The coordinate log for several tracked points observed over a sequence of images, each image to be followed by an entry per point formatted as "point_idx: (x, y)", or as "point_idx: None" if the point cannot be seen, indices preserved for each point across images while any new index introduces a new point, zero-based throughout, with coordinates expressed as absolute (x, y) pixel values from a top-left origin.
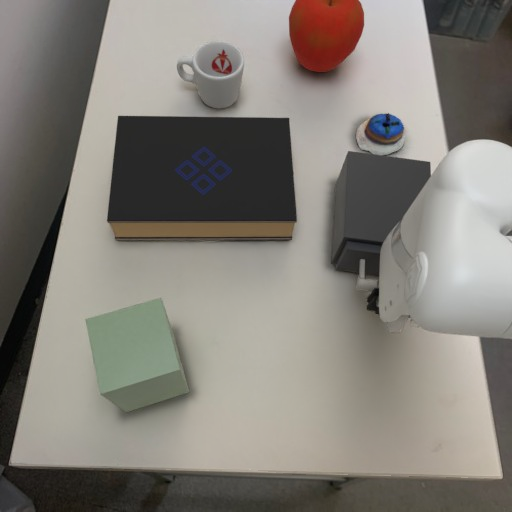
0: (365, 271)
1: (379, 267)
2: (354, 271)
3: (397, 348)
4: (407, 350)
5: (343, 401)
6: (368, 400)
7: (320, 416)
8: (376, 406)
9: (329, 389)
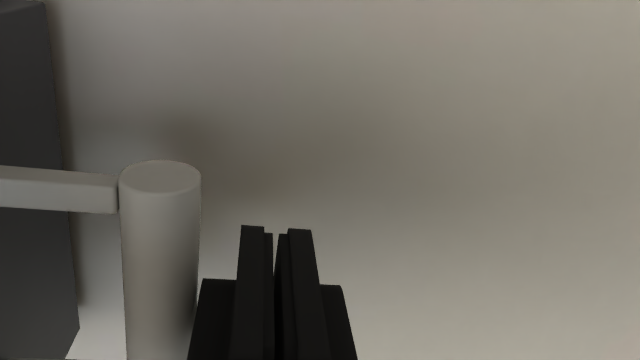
0: (60, 239)
1: (21, 233)
2: (71, 269)
3: (414, 92)
4: (428, 47)
5: (562, 286)
6: (581, 216)
7: (584, 341)
8: (608, 192)
9: (517, 321)
